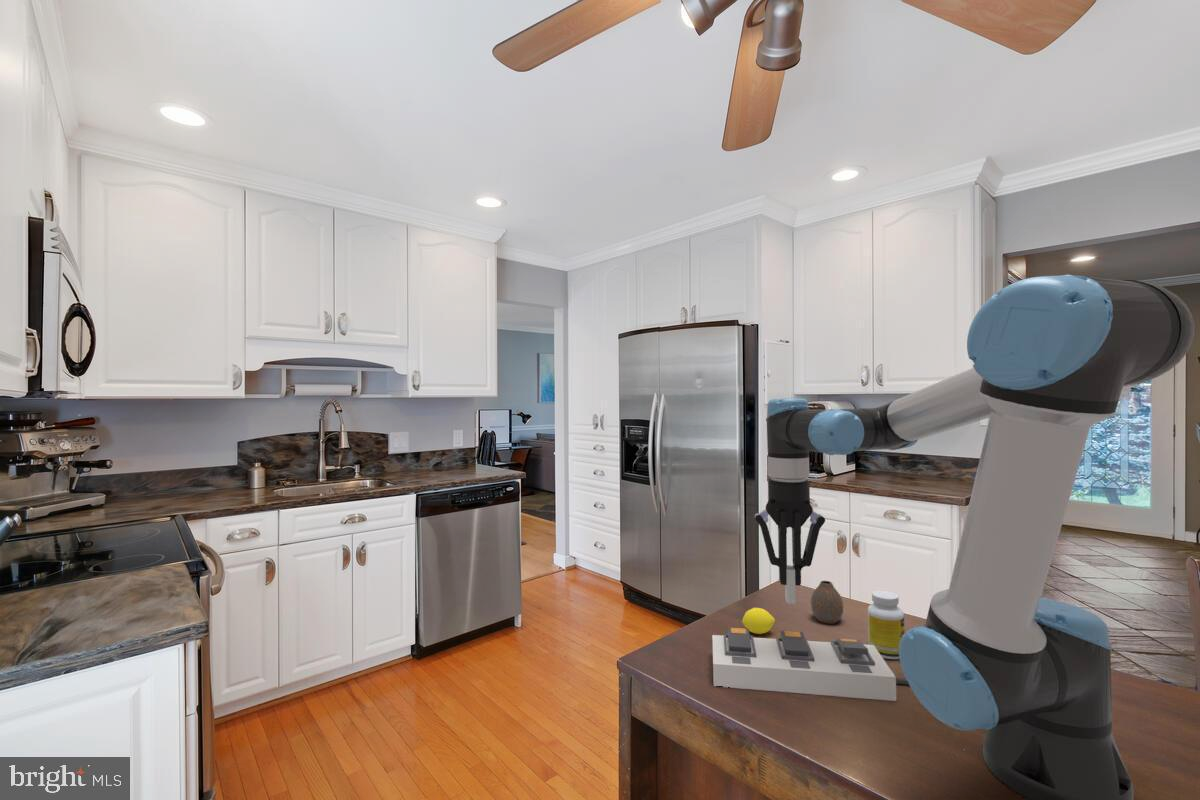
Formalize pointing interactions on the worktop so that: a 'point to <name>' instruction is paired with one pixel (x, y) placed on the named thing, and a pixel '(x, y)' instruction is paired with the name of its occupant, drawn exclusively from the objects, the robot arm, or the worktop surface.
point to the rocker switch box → (804, 670)
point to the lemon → (758, 620)
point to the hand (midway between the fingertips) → (790, 601)
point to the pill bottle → (885, 624)
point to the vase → (827, 603)
